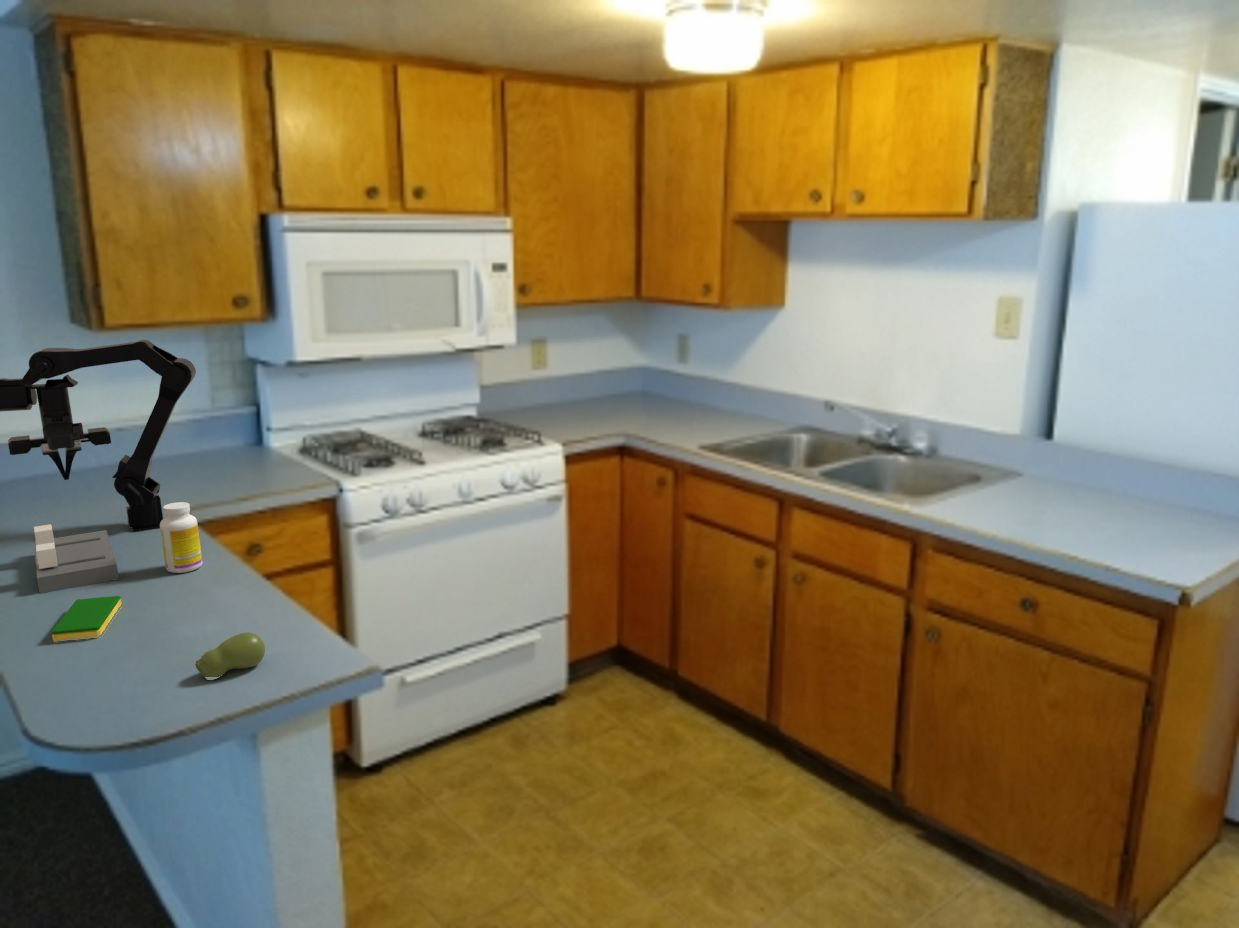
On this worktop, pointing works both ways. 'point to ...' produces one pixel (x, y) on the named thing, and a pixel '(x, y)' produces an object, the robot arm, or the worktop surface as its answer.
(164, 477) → the worktop surface
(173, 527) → the supplement bottle
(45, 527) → the cream matte cube
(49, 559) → the on handle
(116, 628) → the worktop surface
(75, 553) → the grey slider switch panel
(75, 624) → the dish sponge
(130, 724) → the worktop surface
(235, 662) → the pear
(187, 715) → the worktop surface
